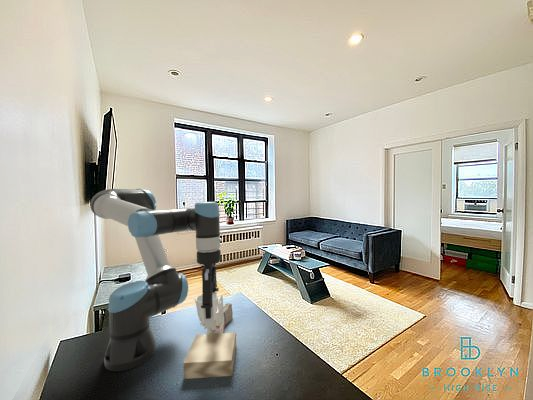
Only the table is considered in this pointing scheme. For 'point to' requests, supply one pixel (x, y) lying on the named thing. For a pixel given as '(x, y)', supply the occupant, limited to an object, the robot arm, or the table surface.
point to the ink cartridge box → (218, 319)
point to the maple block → (210, 356)
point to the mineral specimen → (227, 313)
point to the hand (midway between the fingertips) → (211, 319)
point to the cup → (201, 310)
